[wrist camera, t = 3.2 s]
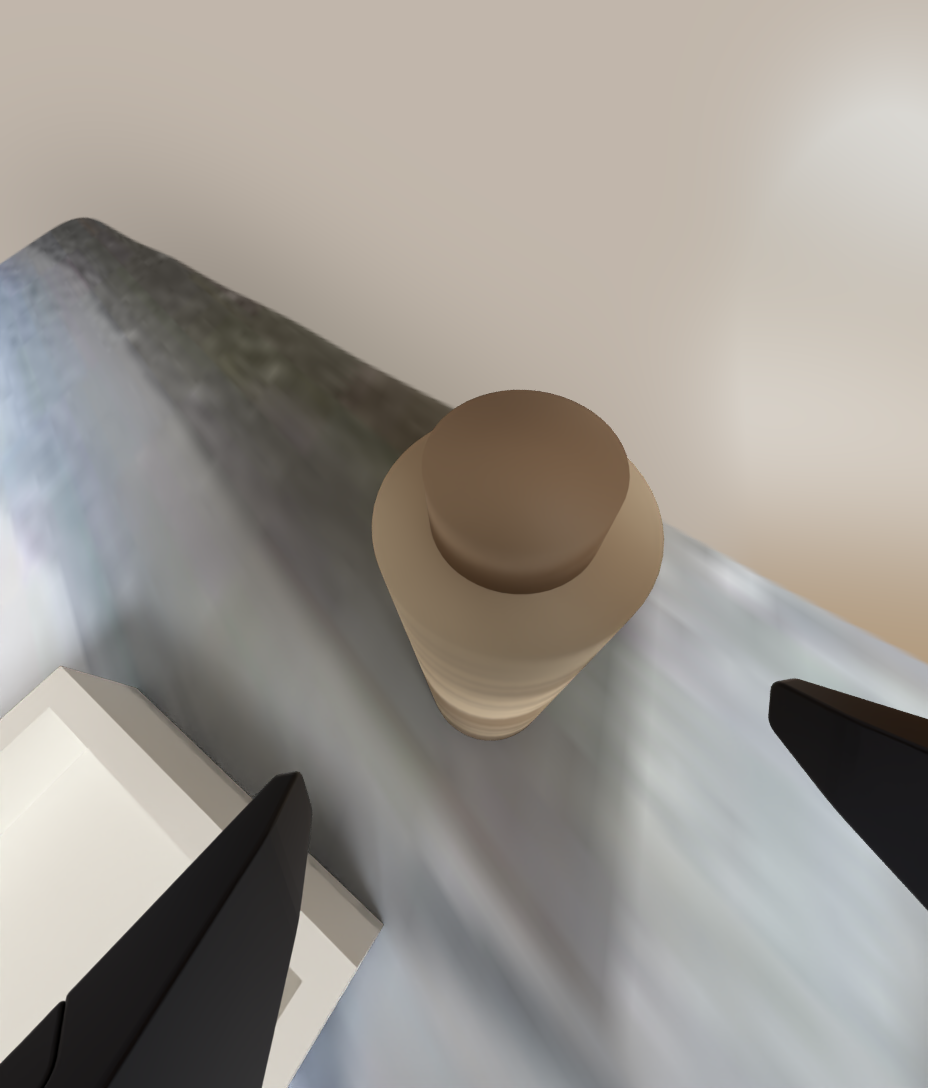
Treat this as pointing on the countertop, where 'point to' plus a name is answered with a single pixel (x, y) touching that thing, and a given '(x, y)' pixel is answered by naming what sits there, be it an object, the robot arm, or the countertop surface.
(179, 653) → the countertop surface
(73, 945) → the bin
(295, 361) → the countertop surface
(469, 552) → the pepper mill
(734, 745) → the countertop surface
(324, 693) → the countertop surface
